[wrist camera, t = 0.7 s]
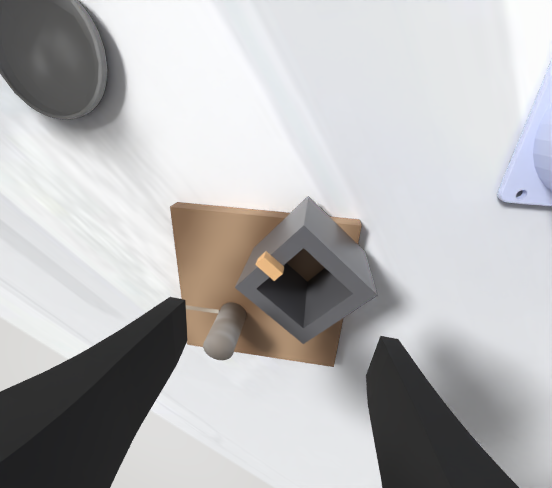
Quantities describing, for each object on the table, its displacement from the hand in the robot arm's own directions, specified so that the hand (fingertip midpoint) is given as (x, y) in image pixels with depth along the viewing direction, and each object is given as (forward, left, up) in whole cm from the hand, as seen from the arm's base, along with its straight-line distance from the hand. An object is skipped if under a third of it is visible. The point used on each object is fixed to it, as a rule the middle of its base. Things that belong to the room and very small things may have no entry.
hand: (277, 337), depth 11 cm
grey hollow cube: (-1, +1, -8) cm, 8 cm away
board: (+2, +5, -9) cm, 11 cm away
